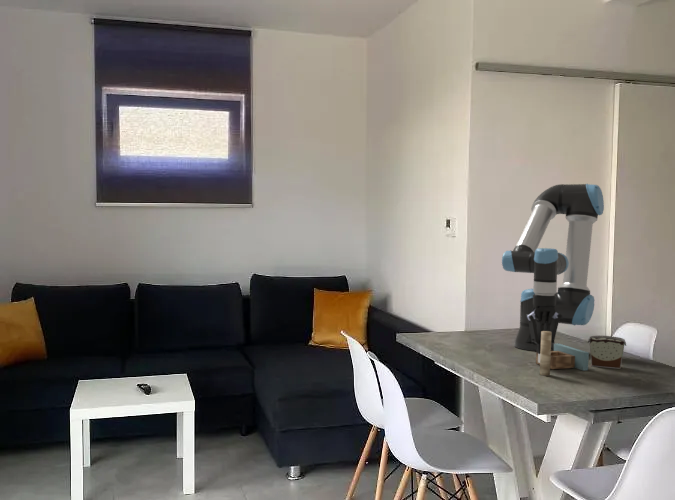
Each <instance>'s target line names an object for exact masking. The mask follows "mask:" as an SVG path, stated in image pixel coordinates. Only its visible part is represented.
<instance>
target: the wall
mask: <svg viewBox="0 0 675 500" xmlns="http://www.w3.org/2000/svg"><path fill="white" fill-rule="evenodd" d="M553 351H561V352H564V353H567V354H570V355H573V356H575V369H578V370H580V371H582V372H583V371H589V355H590V353H589V352H590V351H585V350H582V349H579V348H575V347H572V346H568V345H565V344H562V343H560V342H559V343H555V344H554V350H553Z"/></svg>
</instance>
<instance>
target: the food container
mask: <svg viewBox="0 0 675 500" xmlns="http://www.w3.org/2000/svg"><path fill="white" fill-rule="evenodd" d="M587 340H588V341H587V344H589V352H590V353H589V355H590V366H591V367H596V368H597V367H598V368H607V369H608V368H609V369H618V370H621V369H622V368H621V367H622V362H623V358H624V357H623V355H624V349H625V347H627V341H626V339H625V338H623V337H618V336H613V335H612V336H611V335H590V336H589V338H588V339H587Z"/></svg>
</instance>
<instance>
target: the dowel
mask: <svg viewBox="0 0 675 500" xmlns="http://www.w3.org/2000/svg"><path fill="white" fill-rule="evenodd" d="M551 336H552V332H550V331H541V351H540V365H539V376H543V377H549V376H551V369H550V361H551V351H552V350H551Z"/></svg>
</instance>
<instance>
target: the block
mask: <svg viewBox="0 0 675 500" xmlns="http://www.w3.org/2000/svg"><path fill="white" fill-rule="evenodd" d="M535 352H536V354H535V355H536V357H535V364H536V365H539V366H540V363H538V353H537V351H535ZM574 368H575V356H573V355H570V354H567V353H564V352H561V351H554V350H551V361H550V370H560V369H574ZM575 369H576V368H575Z"/></svg>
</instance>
